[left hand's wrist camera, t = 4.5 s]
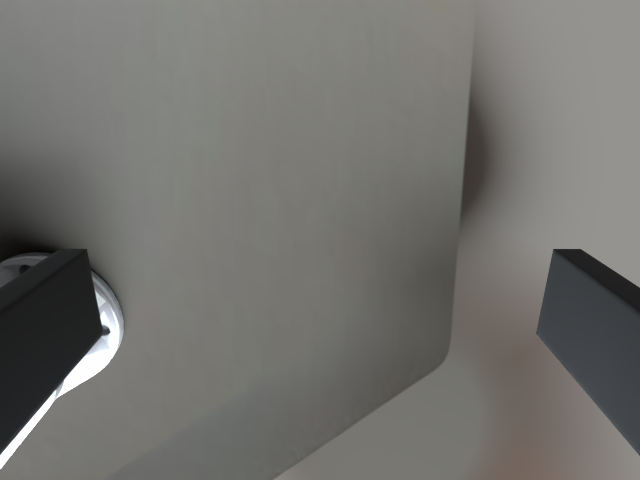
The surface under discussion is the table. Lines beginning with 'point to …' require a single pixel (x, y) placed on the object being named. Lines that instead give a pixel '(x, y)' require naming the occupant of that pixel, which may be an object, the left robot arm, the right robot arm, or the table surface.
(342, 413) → the table surface
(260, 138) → the table surface
